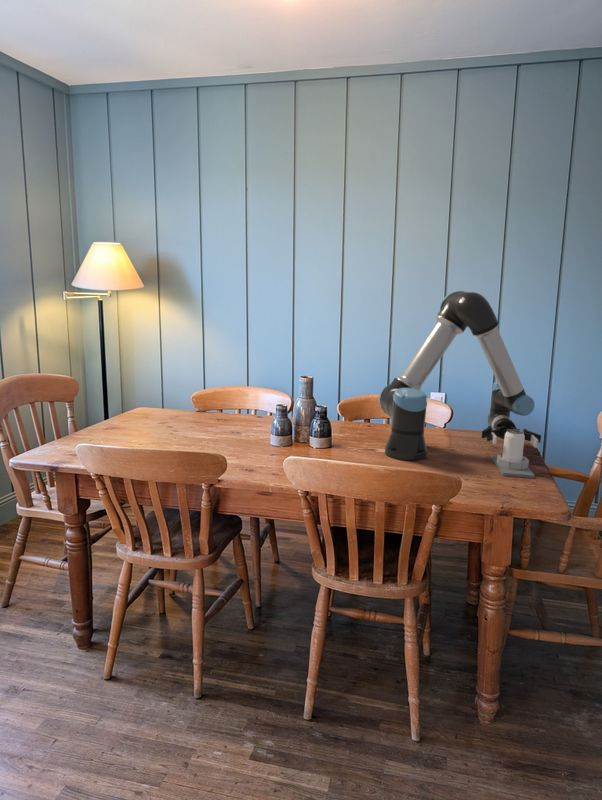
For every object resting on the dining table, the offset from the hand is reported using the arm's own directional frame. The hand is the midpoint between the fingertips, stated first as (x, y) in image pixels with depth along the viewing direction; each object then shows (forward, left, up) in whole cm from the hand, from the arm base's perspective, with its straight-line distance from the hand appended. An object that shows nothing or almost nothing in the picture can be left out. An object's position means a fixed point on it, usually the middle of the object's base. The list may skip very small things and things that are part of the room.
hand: (515, 442), depth 201 cm
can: (-1, 0, -8) cm, 8 cm away
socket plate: (0, 0, -9) cm, 9 cm away
